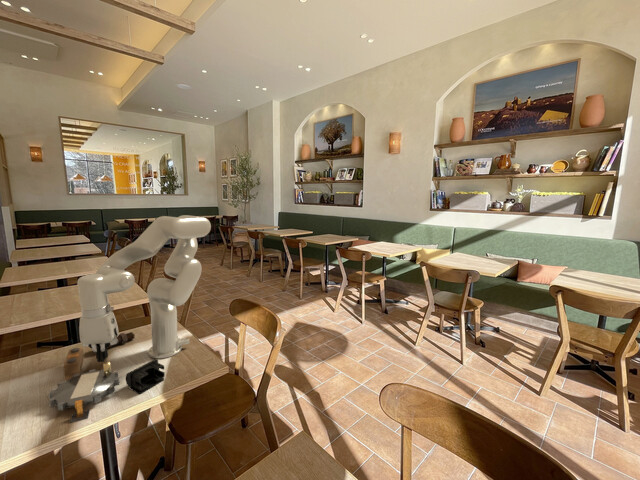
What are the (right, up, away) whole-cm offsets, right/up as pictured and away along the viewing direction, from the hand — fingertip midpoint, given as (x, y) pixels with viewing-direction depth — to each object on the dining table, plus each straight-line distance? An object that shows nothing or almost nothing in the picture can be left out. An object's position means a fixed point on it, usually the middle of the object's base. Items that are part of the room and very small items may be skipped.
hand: (102, 359), depth 103 cm
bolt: (-13, -4, +25) cm, 28 cm away
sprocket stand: (+1, -10, -10) cm, 14 cm away
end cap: (+15, -9, +1) cm, 17 cm away
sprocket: (-1, -8, -6) cm, 10 cm away
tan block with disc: (-15, -7, +7) cm, 18 cm away
